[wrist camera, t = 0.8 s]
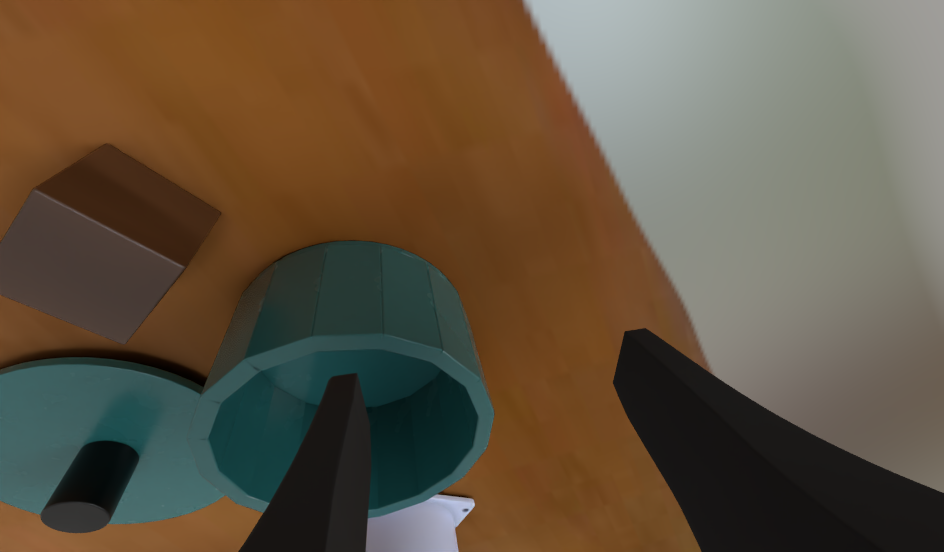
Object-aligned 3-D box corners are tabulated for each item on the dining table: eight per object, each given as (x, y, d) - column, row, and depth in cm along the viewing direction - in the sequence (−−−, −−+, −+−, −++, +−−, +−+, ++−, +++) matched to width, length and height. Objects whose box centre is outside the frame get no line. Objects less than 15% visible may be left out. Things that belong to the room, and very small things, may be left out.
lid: (223, 514, 29) (202, 588, 25) (-42, 493, 23) (-115, 583, 20) (282, 382, 23) (266, 453, 20) (-45, 315, 18) (-145, 395, 14)
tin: (411, 425, 27) (420, 530, 22) (210, 387, 23) (161, 509, 17) (504, 286, 22) (544, 378, 17) (274, 201, 18) (234, 293, 13)
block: (168, 279, 19) (124, 346, 15) (55, 222, 17) (-27, 285, 13) (222, 212, 18) (185, 268, 14) (106, 141, 15) (32, 187, 12)
